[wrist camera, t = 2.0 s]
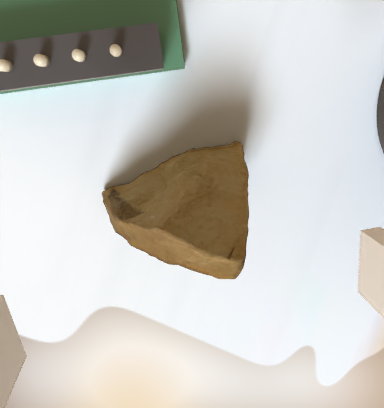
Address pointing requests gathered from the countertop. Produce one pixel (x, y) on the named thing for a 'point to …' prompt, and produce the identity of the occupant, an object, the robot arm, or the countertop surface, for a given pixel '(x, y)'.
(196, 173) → the rock
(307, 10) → the countertop surface
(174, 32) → the socket board
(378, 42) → the countertop surface
